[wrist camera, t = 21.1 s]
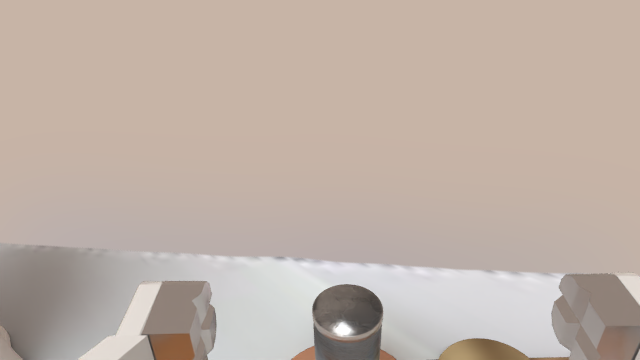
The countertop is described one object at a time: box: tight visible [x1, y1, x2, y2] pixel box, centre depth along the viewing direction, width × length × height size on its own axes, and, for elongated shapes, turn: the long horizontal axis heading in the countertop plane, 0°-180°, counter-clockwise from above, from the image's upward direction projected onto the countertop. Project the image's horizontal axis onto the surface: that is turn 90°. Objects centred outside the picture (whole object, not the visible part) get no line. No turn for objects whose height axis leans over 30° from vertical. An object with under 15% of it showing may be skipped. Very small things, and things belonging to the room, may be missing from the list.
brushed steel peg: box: [312, 284, 383, 360], centre depth 38 cm, size 5×5×11 cm
